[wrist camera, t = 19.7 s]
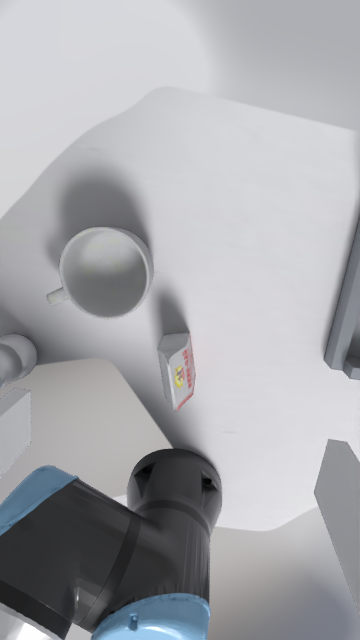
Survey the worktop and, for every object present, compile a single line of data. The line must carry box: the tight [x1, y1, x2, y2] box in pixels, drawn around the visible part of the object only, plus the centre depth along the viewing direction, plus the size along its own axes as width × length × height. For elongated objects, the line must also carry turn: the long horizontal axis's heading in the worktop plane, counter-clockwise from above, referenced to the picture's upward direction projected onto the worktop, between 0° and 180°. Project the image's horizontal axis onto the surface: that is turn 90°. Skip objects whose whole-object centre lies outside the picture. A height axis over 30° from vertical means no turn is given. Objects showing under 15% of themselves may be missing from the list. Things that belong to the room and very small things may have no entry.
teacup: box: [47, 226, 154, 319], centre depth 43 cm, size 14×11×8 cm
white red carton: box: [158, 332, 195, 412], centre depth 44 cm, size 4×7×10 cm, turn 8°
